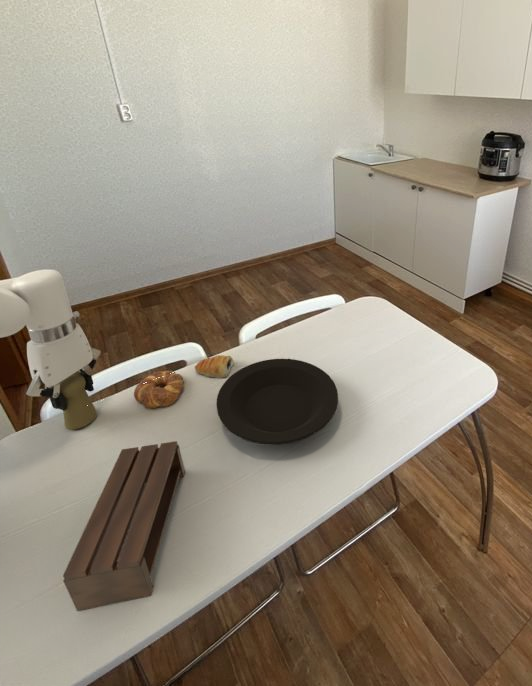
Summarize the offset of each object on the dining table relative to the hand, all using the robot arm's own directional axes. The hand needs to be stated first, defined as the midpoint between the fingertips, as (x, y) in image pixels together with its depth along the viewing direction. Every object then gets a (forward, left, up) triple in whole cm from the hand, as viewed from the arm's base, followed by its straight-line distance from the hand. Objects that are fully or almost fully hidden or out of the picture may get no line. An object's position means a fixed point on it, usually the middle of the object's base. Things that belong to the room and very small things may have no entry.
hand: (74, 397), depth 85 cm
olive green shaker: (0, 0, -6) cm, 6 cm away
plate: (+44, -7, -7) cm, 45 cm away
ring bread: (+15, +5, -7) cm, 18 cm away
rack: (+21, -28, -6) cm, 35 cm away
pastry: (+27, +11, -7) cm, 30 cm away
